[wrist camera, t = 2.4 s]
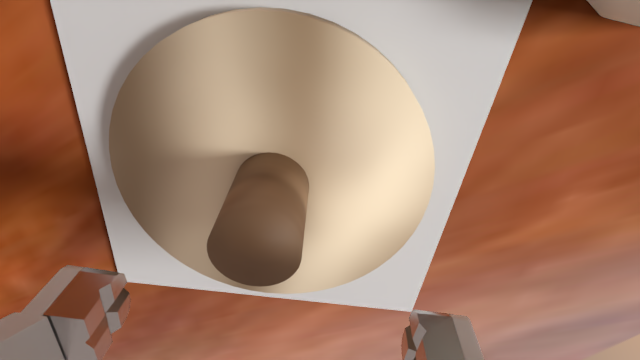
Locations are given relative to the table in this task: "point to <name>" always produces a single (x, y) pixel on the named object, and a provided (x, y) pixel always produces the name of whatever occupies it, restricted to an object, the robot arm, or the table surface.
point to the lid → (272, 151)
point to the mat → (351, 13)
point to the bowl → (618, 10)
